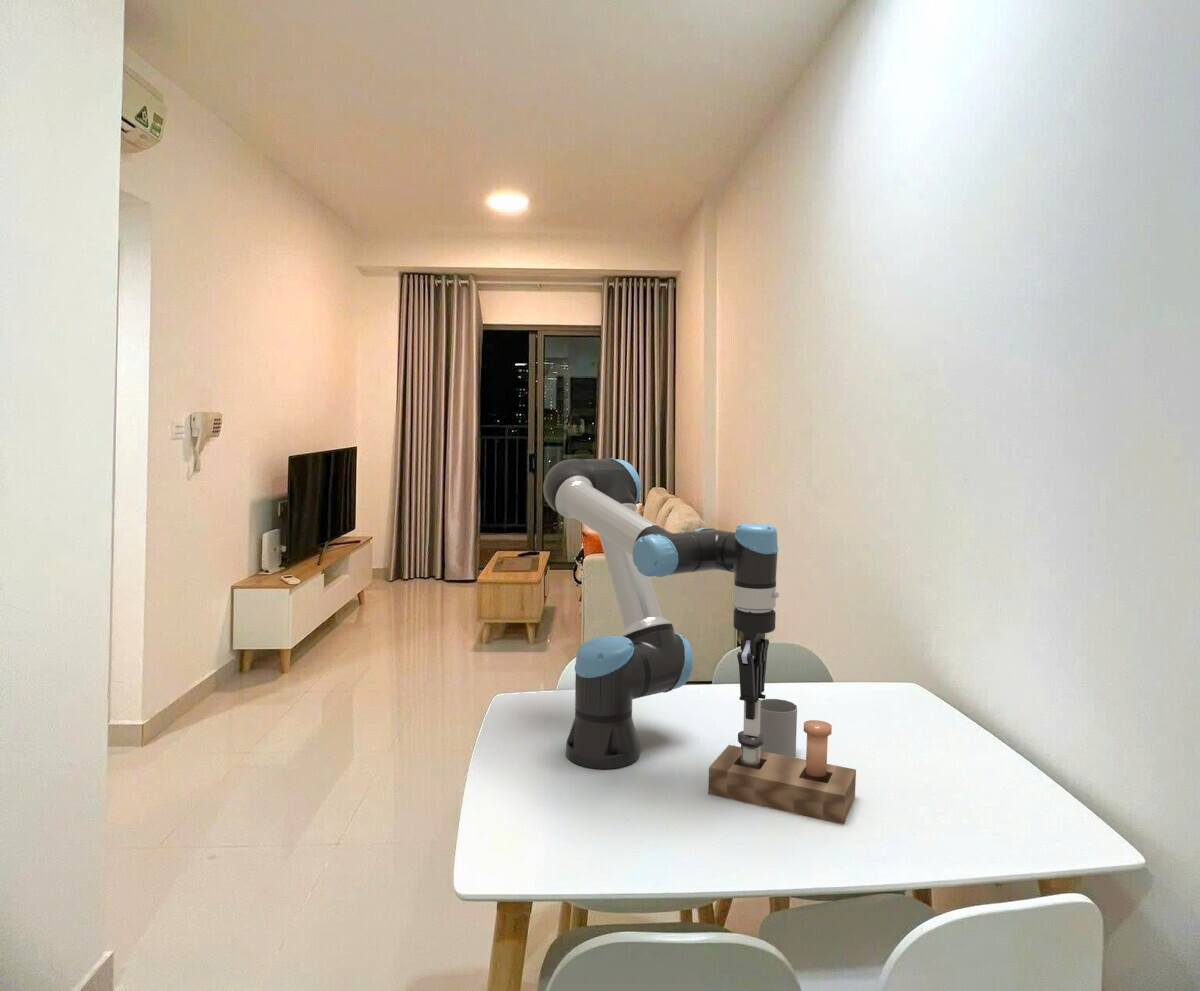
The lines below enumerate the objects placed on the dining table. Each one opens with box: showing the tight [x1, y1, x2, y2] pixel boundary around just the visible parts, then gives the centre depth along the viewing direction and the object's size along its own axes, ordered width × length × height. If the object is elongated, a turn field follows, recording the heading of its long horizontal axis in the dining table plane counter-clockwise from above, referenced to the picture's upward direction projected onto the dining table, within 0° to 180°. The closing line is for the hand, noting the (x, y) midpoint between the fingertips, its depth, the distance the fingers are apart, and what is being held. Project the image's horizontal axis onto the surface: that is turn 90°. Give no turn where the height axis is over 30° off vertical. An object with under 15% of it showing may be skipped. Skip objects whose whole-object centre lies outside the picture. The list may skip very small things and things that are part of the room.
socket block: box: [707, 744, 857, 825], centre depth 143 cm, size 24×12×5 cm, turn 63°
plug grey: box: [737, 730, 764, 770], centre depth 146 cm, size 5×5×9 cm
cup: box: [760, 698, 798, 758], centre depth 163 cm, size 8×8×10 cm
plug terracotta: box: [803, 719, 833, 777], centre depth 140 cm, size 5×5×9 cm
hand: (751, 734), depth 145 cm, fingers closed
